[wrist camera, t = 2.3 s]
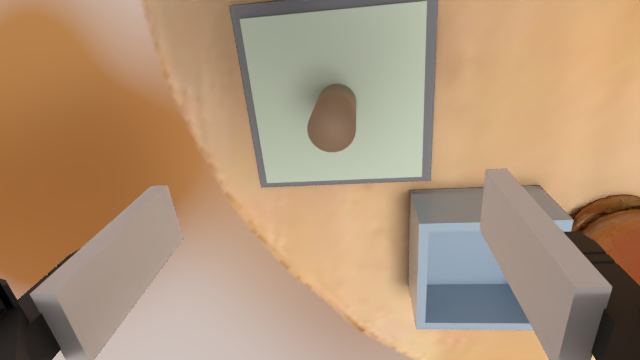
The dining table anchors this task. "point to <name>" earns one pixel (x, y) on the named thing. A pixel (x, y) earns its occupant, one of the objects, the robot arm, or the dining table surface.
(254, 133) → the mat
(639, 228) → the burger
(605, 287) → the robot arm
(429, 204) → the open box
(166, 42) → the dining table surface
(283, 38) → the lid
